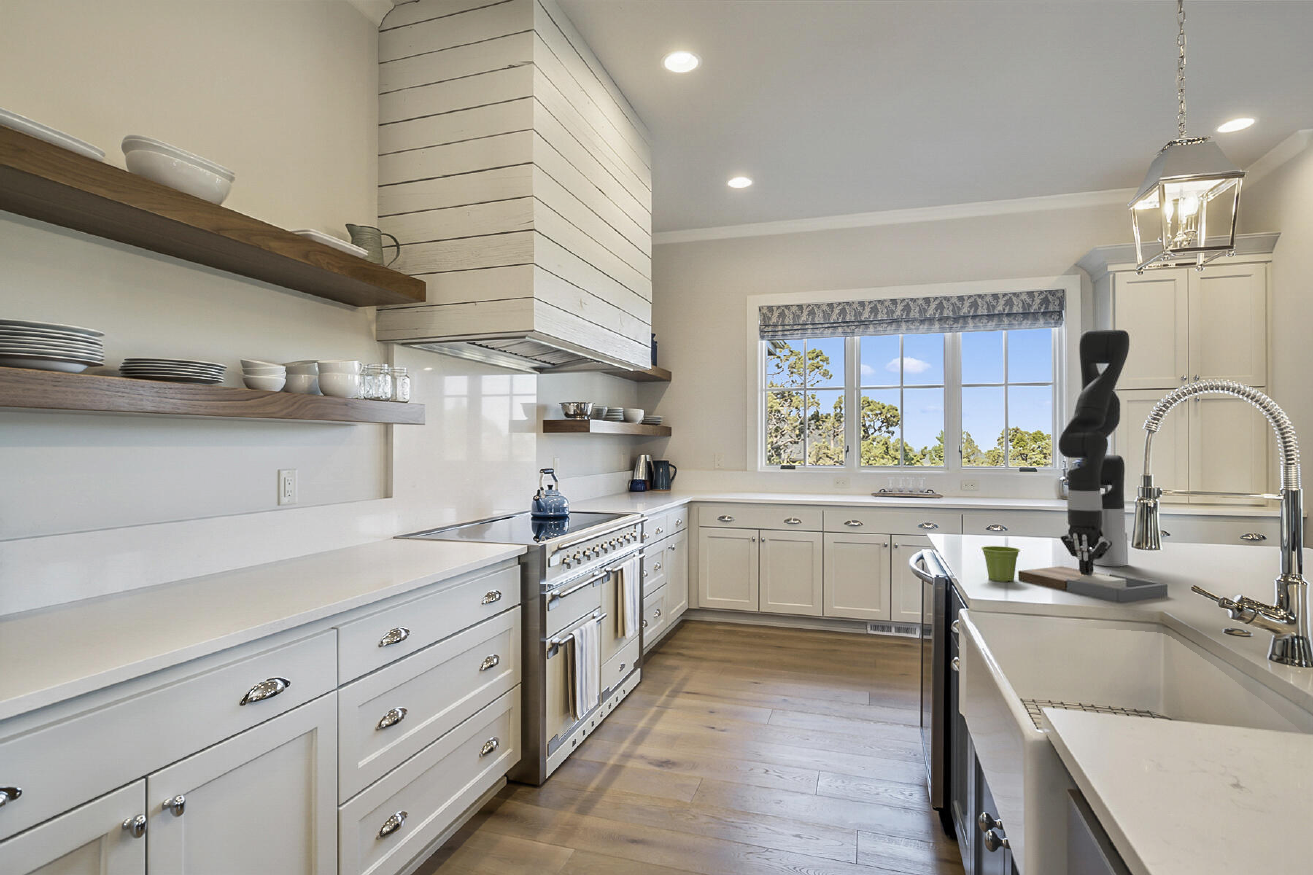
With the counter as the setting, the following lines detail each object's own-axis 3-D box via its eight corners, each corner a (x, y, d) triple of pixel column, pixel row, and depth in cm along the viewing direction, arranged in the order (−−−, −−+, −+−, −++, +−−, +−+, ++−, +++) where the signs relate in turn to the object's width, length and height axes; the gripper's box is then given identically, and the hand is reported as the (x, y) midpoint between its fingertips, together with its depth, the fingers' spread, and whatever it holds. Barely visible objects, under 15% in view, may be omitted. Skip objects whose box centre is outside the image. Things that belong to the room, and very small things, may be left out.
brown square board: (1061, 575, 183) (1061, 566, 183) (1110, 584, 170) (1110, 575, 170) (1018, 579, 178) (1018, 570, 178) (1065, 590, 164) (1065, 580, 164)
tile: (1098, 583, 168) (1098, 574, 168) (1126, 589, 161) (1125, 579, 161) (1079, 586, 166) (1079, 576, 166) (1106, 591, 159) (1105, 581, 159)
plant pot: (983, 575, 185) (982, 544, 185) (1021, 578, 180) (1020, 547, 180) (980, 581, 177) (980, 549, 177) (1020, 584, 172) (1019, 552, 172)
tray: (1112, 585, 169) (1111, 573, 169) (1167, 596, 156) (1167, 584, 156) (1066, 590, 164) (1065, 579, 164) (1120, 603, 151) (1119, 590, 151)
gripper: (1120, 509, 162) (1122, 578, 162) (1071, 504, 175) (1073, 568, 175) (1098, 510, 160) (1100, 580, 160) (1050, 506, 173) (1052, 571, 172)
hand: (1086, 574), depth 167 cm, fingers closed
